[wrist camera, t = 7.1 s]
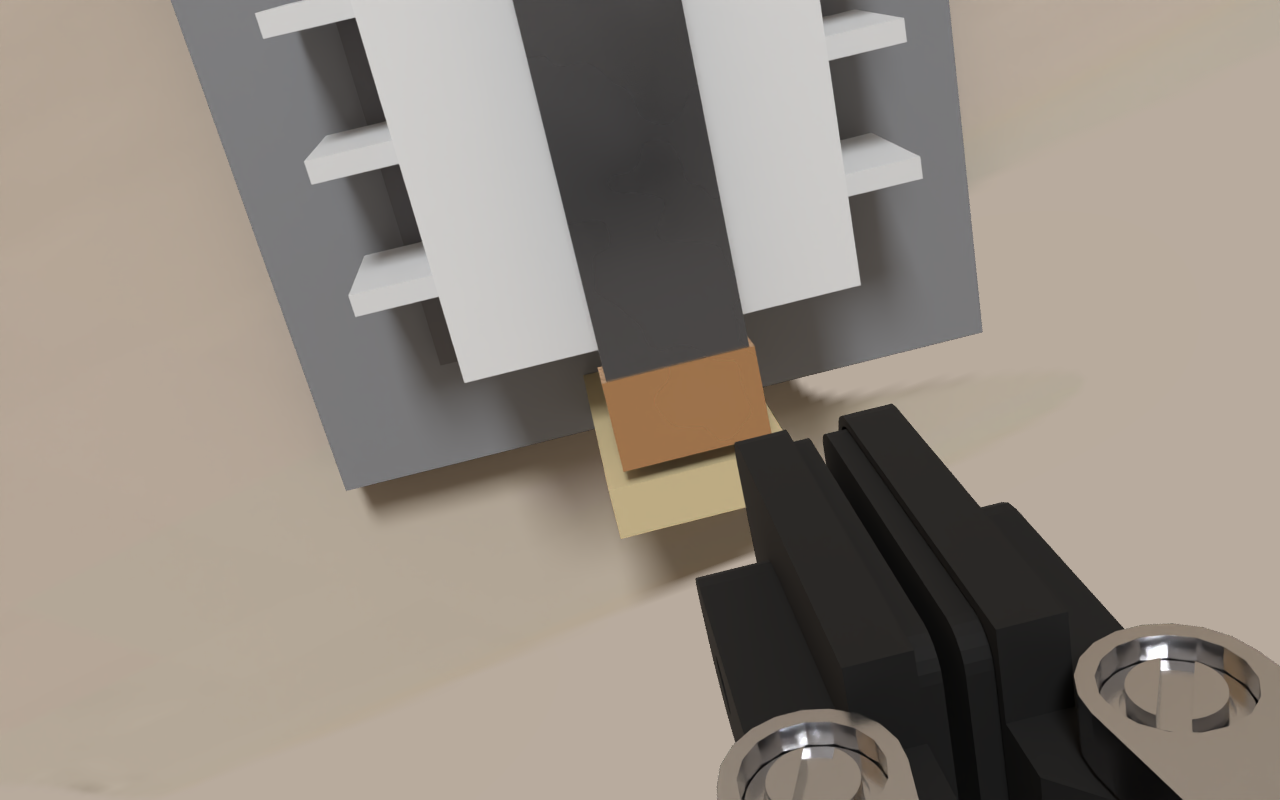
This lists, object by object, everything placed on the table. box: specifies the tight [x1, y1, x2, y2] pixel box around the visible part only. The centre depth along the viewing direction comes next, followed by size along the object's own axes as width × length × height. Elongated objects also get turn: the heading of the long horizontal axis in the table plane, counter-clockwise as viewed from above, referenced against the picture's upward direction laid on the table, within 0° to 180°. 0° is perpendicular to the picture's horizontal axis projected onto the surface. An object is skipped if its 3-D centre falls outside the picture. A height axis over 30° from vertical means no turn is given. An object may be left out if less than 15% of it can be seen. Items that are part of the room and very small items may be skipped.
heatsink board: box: [171, 0, 982, 539], centre depth 25 cm, size 18×20×8 cm
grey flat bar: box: [512, 0, 771, 472], centre depth 22 cm, size 16×4×2 cm, turn 13°
